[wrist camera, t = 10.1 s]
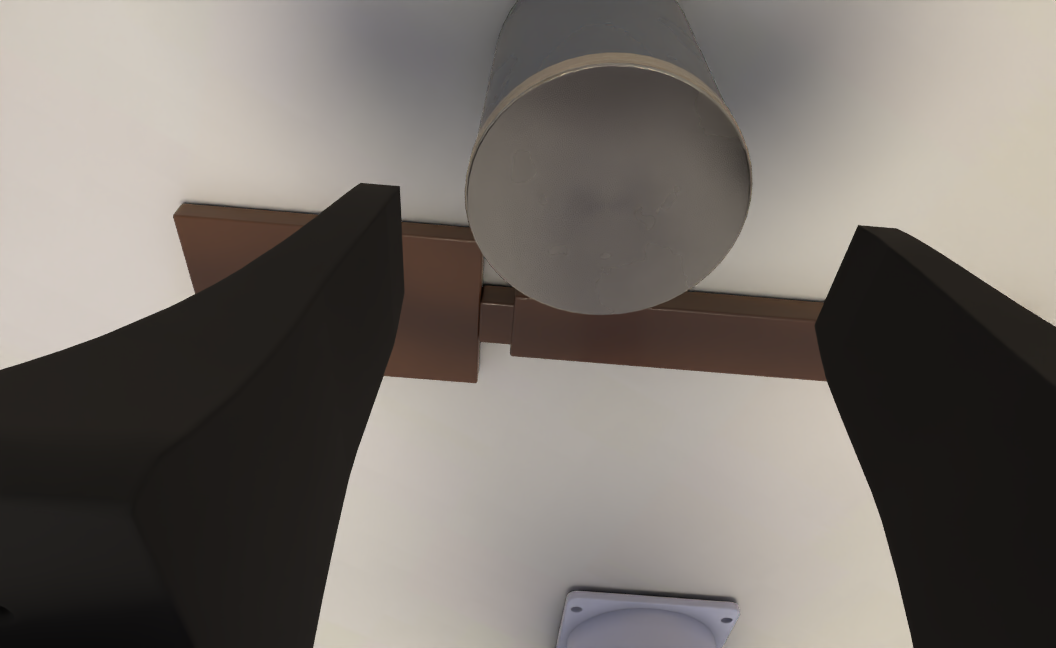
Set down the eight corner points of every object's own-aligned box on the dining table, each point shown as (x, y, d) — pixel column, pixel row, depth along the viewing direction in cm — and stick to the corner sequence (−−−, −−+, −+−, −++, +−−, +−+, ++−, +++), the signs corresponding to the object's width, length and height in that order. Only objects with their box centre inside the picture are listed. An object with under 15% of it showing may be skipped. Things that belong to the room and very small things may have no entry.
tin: (672, 169, 19) (713, 326, 14) (488, 153, 19) (462, 305, 14) (718, -31, 16) (792, 77, 11) (497, -52, 15) (466, 48, 10)
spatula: (975, 409, 24) (988, 431, 23) (222, 349, 23) (210, 369, 23) (1067, 276, 20) (1087, 297, 20) (182, 202, 20) (167, 221, 19)
